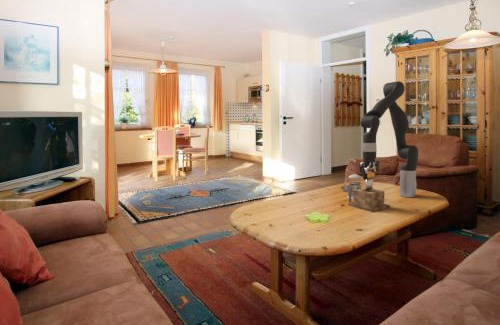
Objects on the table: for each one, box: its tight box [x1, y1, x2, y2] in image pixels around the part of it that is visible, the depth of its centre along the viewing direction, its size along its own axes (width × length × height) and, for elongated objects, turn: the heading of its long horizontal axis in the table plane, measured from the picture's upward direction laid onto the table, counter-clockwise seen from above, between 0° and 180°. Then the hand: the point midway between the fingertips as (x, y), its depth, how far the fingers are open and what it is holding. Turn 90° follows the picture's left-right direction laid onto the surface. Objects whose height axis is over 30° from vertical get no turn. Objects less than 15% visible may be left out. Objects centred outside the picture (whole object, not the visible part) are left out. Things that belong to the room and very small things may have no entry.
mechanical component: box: [340, 184, 359, 203], centre depth 217 cm, size 3×10×10 cm, turn 78°
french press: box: [343, 159, 362, 200], centre depth 227 cm, size 10×12×25 cm
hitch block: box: [347, 188, 391, 213], centre depth 204 cm, size 15×18×10 cm
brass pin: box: [365, 171, 376, 190], centre depth 203 cm, size 6×6×10 cm
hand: (369, 178), depth 203 cm, fingers closed on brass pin, 6 cm apart
